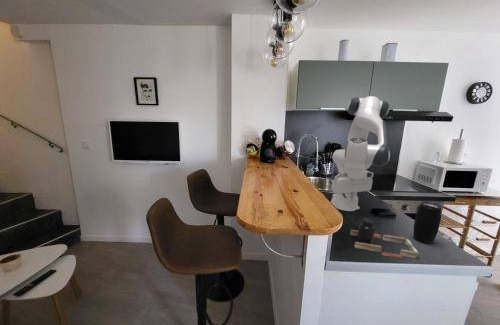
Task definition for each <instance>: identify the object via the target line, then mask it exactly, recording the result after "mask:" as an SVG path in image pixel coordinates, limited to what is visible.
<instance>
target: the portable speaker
mask: <svg viewBox="0 0 500 325" xmlns="http://www.w3.org/2000/svg"><path fill="white" fill-rule="evenodd" d="M441 219H442V205H440V204H438V203H432V202H431V201H430V202H428V201H426V200H422V201H421V202H420V204H419V205H418V209H417V210H416V213H415V219H414V223H413V238H414V239H415V240H416V241H417V240H418V241H420V242H423V243H424V244H426V245H431V244H433V243H434V241H435V240H436V237H437V234H438V232H439V229H440V224H441V221H442V220H441Z"/></svg>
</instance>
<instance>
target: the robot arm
mask: <svg viewBox="0 0 500 325" xmlns="http://www.w3.org/2000/svg"><path fill="white" fill-rule="evenodd" d="M389 111H390V104H389V102H388V101H386V100H381V99H379V98H378V97H376V96H374V95H369V96H365V97H358V96H357V97H353V98H351V99H350V100H349V102H348V104H347V113H348V114H350V115H351V116H354V118H353V120H352V123H351V126H350V129H349V132H348V136H347V142H348V143H347V146H346V147H345V149H336V150H334V152H333V154H332V156H331V157H332V161H333V163H334V164H335V165H336V168H337V171H338V173H337V175H335V176H334V178H333V182H332V186H331V191H332V192H333V193H332V197H331V200H330V203H332V204H333V205H334V206H335V207H334V206H333V207H334V208H336V209H338V210H342V211H345V212H355V211H356V210H360V209H361V208H360V207H361V206H359V205H358V204H359V197H358V193H361V192H369V191H371V189H372V186H373V178H374V172H372V171H368V169H369V168H370V167H371V166H374V167H383V166H386V165H387V164H388V163H389V161H390V158H391V152H390V147H389V140H388V138H389V137H388V128H387V124H386V121H385V120H384V118H385V117H386V116H387V115H388V113H389ZM369 133H372V134H374V135H376V137H377V144H369V143H368V137H369Z"/></svg>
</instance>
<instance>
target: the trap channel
mask: <svg viewBox="0 0 500 325" xmlns="http://www.w3.org/2000/svg"><path fill="white" fill-rule="evenodd" d="M350 236H354V237H358V230H355V229H350ZM374 238H375V239H380V240H382V241H386V242H391V243H392V242H393V243H398V244H404V245H405V246H406V248H407V250H406V249H400V252H399V254H397V253H391V252H385V251H382V245H378V244H366V243H360V242H358V241H355V242H354V244H353V245H354V246H353V247H354V248H355V249H359V250H365V251H372V252H378V253H381V255H382V256H385V257H390V258H396V259H401V260H403V259H404V258H403V257H405V258H412V259H419V258H420V252H419V251H418V250H417V249H416V247H415V246H414V244H412V242H411V241H410V239H409V238H407V237H401V236H395V235H389V234H382V236H381V234H380V233H374ZM374 238H373V239H374Z"/></svg>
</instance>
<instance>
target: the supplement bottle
mask: <svg viewBox="0 0 500 325" xmlns="http://www.w3.org/2000/svg"><path fill="white" fill-rule="evenodd" d="M357 231H358V236H356V237H357V238H356V242H360V243H366V244H372V245H374V244H373V242H374V234H375V231H376V228H375V227H374V220H372V219H370V218H366V217H365V218H362V220H361V223H360V224H358V230H357Z"/></svg>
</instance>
